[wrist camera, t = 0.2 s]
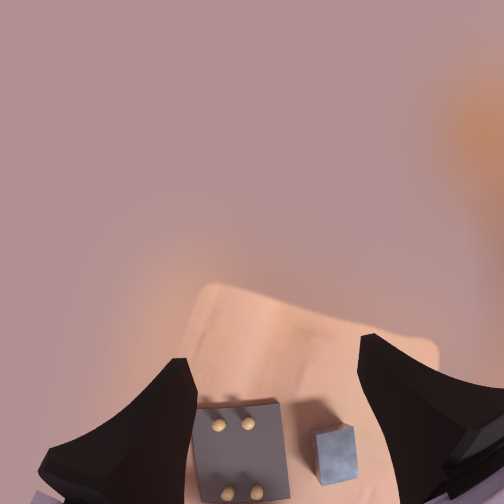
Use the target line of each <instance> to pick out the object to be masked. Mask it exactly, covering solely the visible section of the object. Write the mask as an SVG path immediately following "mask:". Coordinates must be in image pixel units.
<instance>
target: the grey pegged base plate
mask: <svg viewBox="0 0 504 504" xmlns="http://www.w3.org/2000/svg"><path fill="white" fill-rule="evenodd" d="M192 437H193V446H194V454H195V462H196V470H197V477H198V484H199V490H200V496H201V502H207V503H243V502H261V501H273V500H282V499H290V489H289V480H288V471H287V462H286V454H285V445H284V436H283V428H282V419H281V411H280V403H275V404H267V405H257V406H246V407H233V408H214V409H197V410H196V416H195V421H194V425H193V430H192Z"/></svg>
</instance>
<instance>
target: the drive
mask: <svg viewBox="0 0 504 504" xmlns="http://www.w3.org/2000/svg"><path fill="white" fill-rule="evenodd" d="M310 431H311V440H312V448H313V457H314V466H315V476H316V478H317V479H318V481H319V483H320V484H321V486H326V485H330V484H335V483H339V482H343V481H347V480H351V479H355V478H358V466H357V455H356V445H355V436H354V427H353V426H350V425H347V424H344V423H342V424H337V425H333V426H328V427H323V428H318V429H313V430H310Z"/></svg>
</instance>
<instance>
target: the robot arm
mask: <svg viewBox="0 0 504 504" xmlns="http://www.w3.org/2000/svg"><path fill="white" fill-rule="evenodd" d="M357 374H358V377H359V380H360V383H361V386H362V389H363V392H364V394H365V396H366V398H367V400H368V402H369V404H370V406H371V408H372V411H373V413H374V415H375V417H376V419H377V421H378V423H379V425H380V427H381V429H382V432H383V434H384V437H385V440H386V443H387V446H388V449H389V452H390V456H391V460H392V463H393V467H394V471H395V476H396V481H397V485H398V491H399V497H400V504H504V389H502V388H491V387H486V386H480V385H476V384H472V383H468V382H464V381H461V380H458V379H455V378H452V377H449V376H447V375H445V374H442V373H440V372H438V371H436V370H433V369H431V368H429V367H427V366H426V365H424V364H422V363H420V362H418V361H417V360H415V359H413V358H411V357H410V356H408V355H407V354H405V353H403V352H402V351H400V350H399V349H397V348H396V347H394V346H393V345H391V344H390V343H388V342H387V341H385V340H384V339H382V338H381V337H379V336H378V335H376V334H375V333H373V334H368V335H364V336H361V340H360V351H359V360H358V368H357ZM197 396H198V391H197V388H196V386H195V383H194V380H193V377H192V374H191V371H190V368H189V365H188V362H187V359H186V358H173V359H172V360H171V361H170V362H169V363H168V364H167V365H166V366H165V367H164V369H163V370H162V371H161V372H160V373H159V374H158V375H157V376H156V377H155V379H154V380H153V381H152V382H151V383H150V384H149V385H148V386H147V387H146V388H145V389H144V390H143V391H142V392H141V393H140V394H139V395H138V396H137V397H136V398H135V399H134V400H133V401H132V402H131V403H130V404H129V405H128V406H126V407H125V408H124V409H123V410H122V411H121V412H119V413H118V414H117V415H115V416H114V417H113V418H111V419H110V420H108V421H107V422H105V423H104V424H102V425H100V426H99V427H97V428H96V429H94V430H92V431H91V432H89V433H87V434H85V435H83V436H81V437H79V438H77V439H75V440H72V441H70V442H67V443H64V444H62V445H59V446H56V447H53V448H49V450H48V452H47V454H46V456H45V458H44V459H43V461H42V463H41V466H40V467H39V469H38V474H39V476H40V477H41V478H42V479H43V480H44V481H45V482H46V483H47V484H48V485H49V486H50V487H52V488H53V489H54V490H55V491H57V492H58V493H59V494H60V495H62V496H63V497H64V498H65V501H64V503H62V502H60V501H58V500H57V499H55V498H53V497H51V496H48V495H46V494H44V493H42V492H40V491H38V490H37V491H36V493H35V495H34V497H33V499H32V502H31V504H184V486H185V469H186V459H187V453H188V448H189V444H190V439H191V435H192V430H193V425H194V421H195V416H196V410H197Z"/></svg>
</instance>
